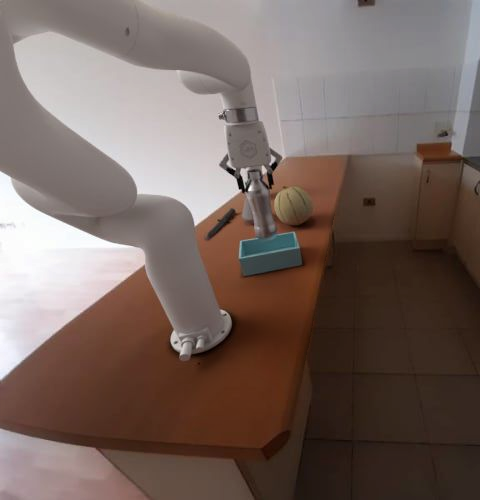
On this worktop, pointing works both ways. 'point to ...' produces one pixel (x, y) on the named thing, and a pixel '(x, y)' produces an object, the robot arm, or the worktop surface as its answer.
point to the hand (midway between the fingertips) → (257, 189)
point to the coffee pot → (248, 211)
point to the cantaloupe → (293, 205)
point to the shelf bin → (269, 254)
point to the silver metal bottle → (260, 206)
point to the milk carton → (244, 171)
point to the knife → (221, 222)
